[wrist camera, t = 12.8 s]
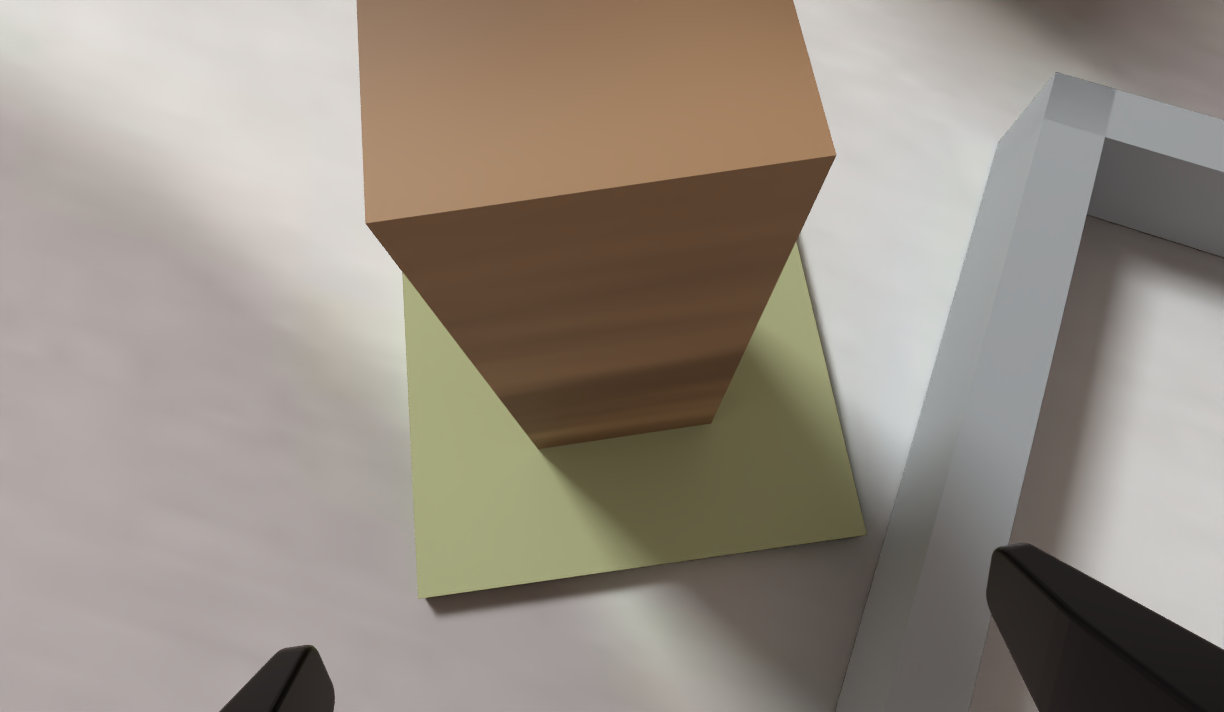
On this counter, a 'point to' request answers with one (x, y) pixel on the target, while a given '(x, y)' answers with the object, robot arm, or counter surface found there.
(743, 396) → the mat
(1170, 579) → the counter surface
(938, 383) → the channel
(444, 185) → the walnut block
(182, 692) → the counter surface
